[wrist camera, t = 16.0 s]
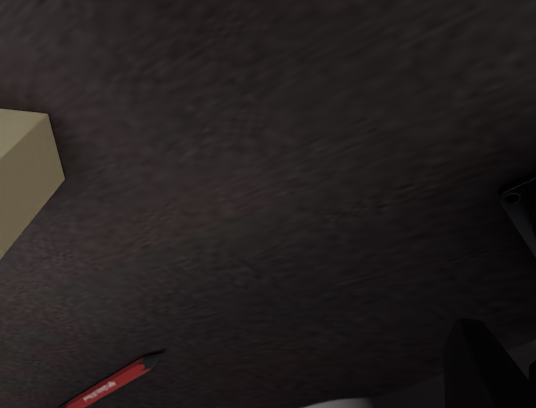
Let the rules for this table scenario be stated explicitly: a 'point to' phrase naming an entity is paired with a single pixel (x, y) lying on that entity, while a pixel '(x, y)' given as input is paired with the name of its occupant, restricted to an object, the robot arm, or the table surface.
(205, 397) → the table surface
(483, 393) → the robot arm
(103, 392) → the pencil
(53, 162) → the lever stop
